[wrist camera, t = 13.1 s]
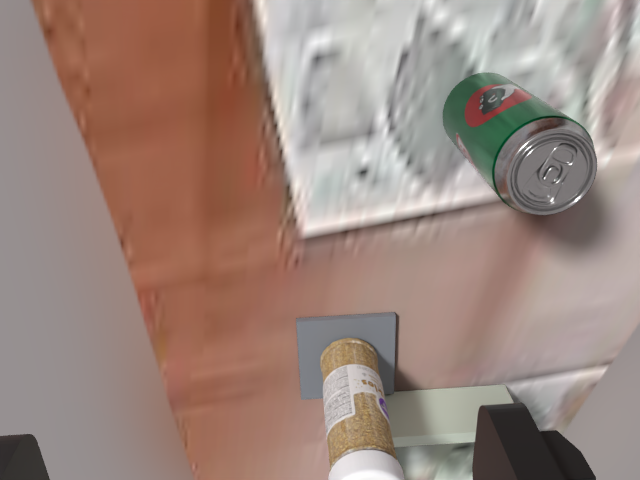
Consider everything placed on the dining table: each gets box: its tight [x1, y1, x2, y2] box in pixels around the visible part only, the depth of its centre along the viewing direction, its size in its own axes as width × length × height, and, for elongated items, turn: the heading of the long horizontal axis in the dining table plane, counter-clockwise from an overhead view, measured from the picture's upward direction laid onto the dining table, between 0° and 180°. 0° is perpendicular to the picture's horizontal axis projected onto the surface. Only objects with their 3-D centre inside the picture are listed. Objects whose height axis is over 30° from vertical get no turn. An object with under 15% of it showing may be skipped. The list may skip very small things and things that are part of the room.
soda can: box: [443, 73, 597, 215], centre depth 34 cm, size 5×5×12 cm
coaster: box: [296, 312, 396, 400], centre depth 47 cm, size 8×8×1 cm
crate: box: [384, 385, 514, 447], centre depth 50 cm, size 12×12×5 cm
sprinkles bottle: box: [320, 338, 405, 480], centre depth 41 cm, size 5×5×13 cm
